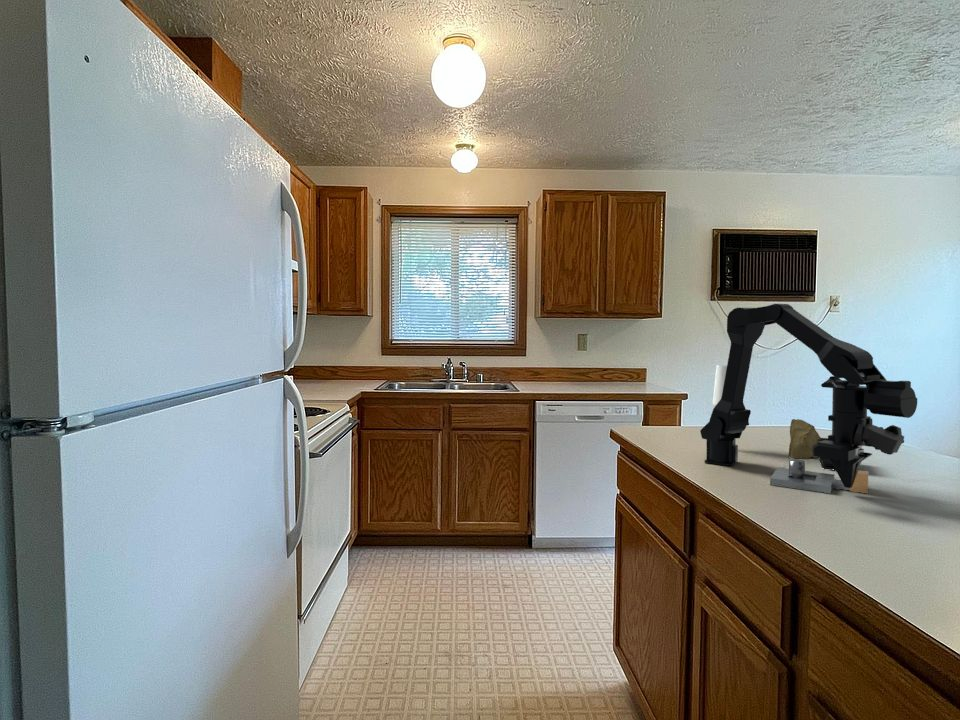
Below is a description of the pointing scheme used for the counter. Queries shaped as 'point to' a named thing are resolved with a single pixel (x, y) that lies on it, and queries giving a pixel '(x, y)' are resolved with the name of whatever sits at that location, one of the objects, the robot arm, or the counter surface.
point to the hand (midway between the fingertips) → (848, 487)
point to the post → (797, 468)
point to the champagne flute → (719, 383)
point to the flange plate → (818, 481)
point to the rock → (802, 439)
